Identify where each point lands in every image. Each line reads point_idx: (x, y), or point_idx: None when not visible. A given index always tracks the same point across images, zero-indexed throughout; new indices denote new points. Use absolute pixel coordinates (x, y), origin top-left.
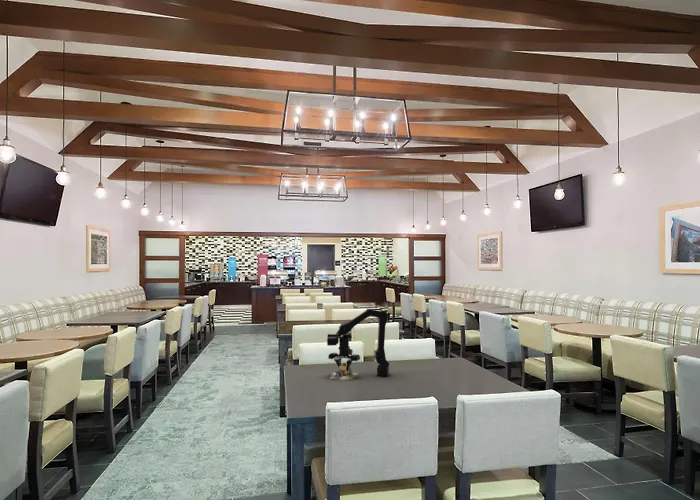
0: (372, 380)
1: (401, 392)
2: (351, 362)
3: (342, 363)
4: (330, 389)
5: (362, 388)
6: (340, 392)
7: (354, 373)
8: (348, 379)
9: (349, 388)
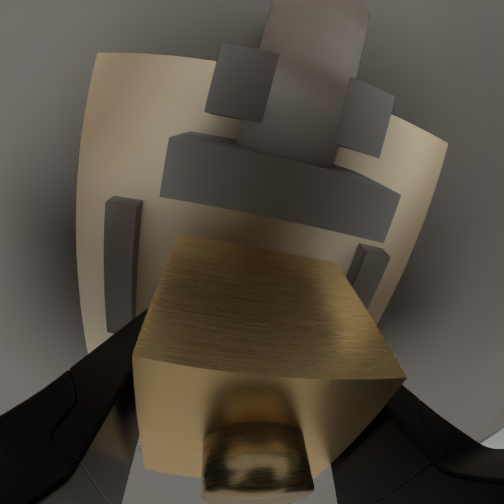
0: (500, 320)
1: (498, 418)
2: (476, 457)
3: (206, 500)
4: None
5: None
6: None
7: (407, 152)
8: None
9: (323, 476)
